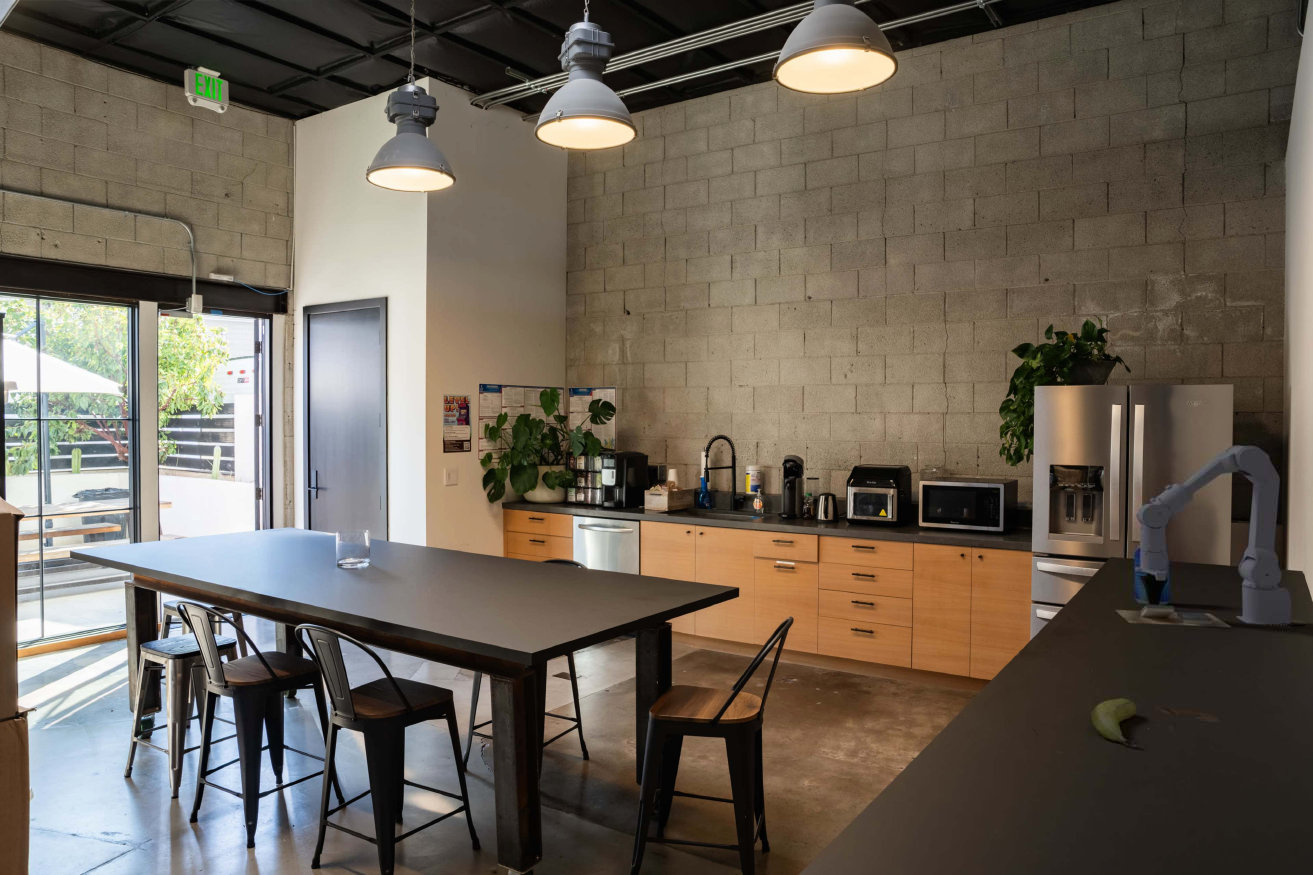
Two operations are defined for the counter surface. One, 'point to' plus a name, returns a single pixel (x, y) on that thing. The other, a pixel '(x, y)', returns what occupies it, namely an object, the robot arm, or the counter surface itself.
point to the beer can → (1139, 587)
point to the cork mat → (1165, 619)
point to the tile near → (1194, 618)
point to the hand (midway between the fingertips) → (1153, 604)
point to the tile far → (1157, 611)
